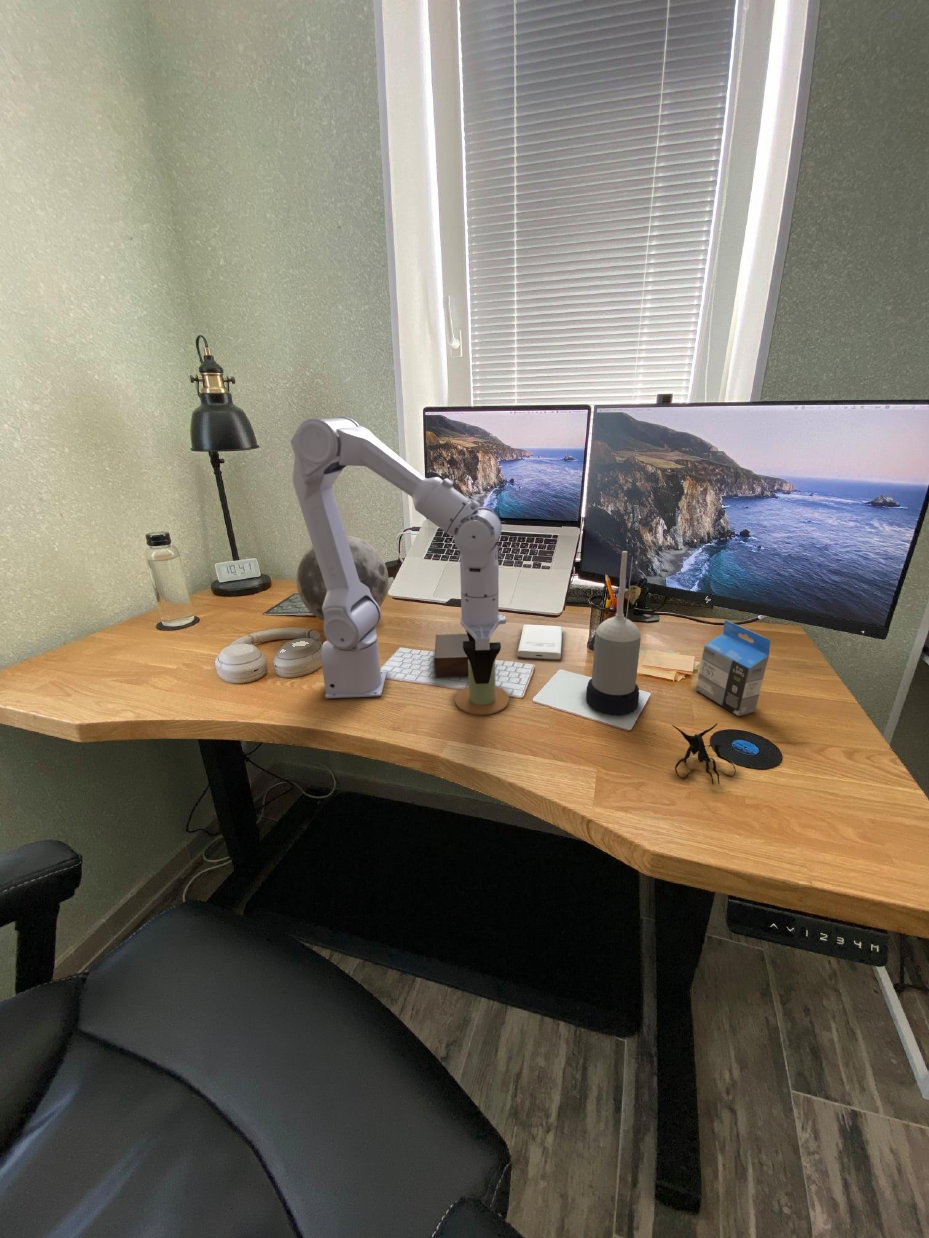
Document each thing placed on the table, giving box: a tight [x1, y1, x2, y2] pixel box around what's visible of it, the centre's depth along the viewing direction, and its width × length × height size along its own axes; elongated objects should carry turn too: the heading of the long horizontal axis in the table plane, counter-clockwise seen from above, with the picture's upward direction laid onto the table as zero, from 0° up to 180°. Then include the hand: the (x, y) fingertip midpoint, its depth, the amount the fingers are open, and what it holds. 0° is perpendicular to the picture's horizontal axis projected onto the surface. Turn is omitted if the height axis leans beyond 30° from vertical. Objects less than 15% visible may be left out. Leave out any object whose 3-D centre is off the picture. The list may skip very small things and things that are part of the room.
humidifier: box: [585, 550, 642, 717], centre depth 77 cm, size 8×8×25 cm
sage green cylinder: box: [467, 660, 496, 705], centre depth 82 cm, size 4×4×7 cm
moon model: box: [295, 534, 389, 622], centre depth 113 cm, size 20×20×20 cm
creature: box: [671, 722, 737, 786], centre depth 65 cm, size 8×5×8 cm
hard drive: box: [517, 624, 563, 660], centre depth 102 cm, size 2×8×12 cm
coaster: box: [454, 685, 510, 716], centre depth 84 cm, size 9×9×1 cm
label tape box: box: [695, 619, 772, 717], centre depth 79 cm, size 9×4×12 cm, turn 21°
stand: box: [433, 633, 469, 679], centre depth 95 cm, size 10×10×4 cm
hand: (480, 670), depth 81 cm, fingers open, 7 cm apart
